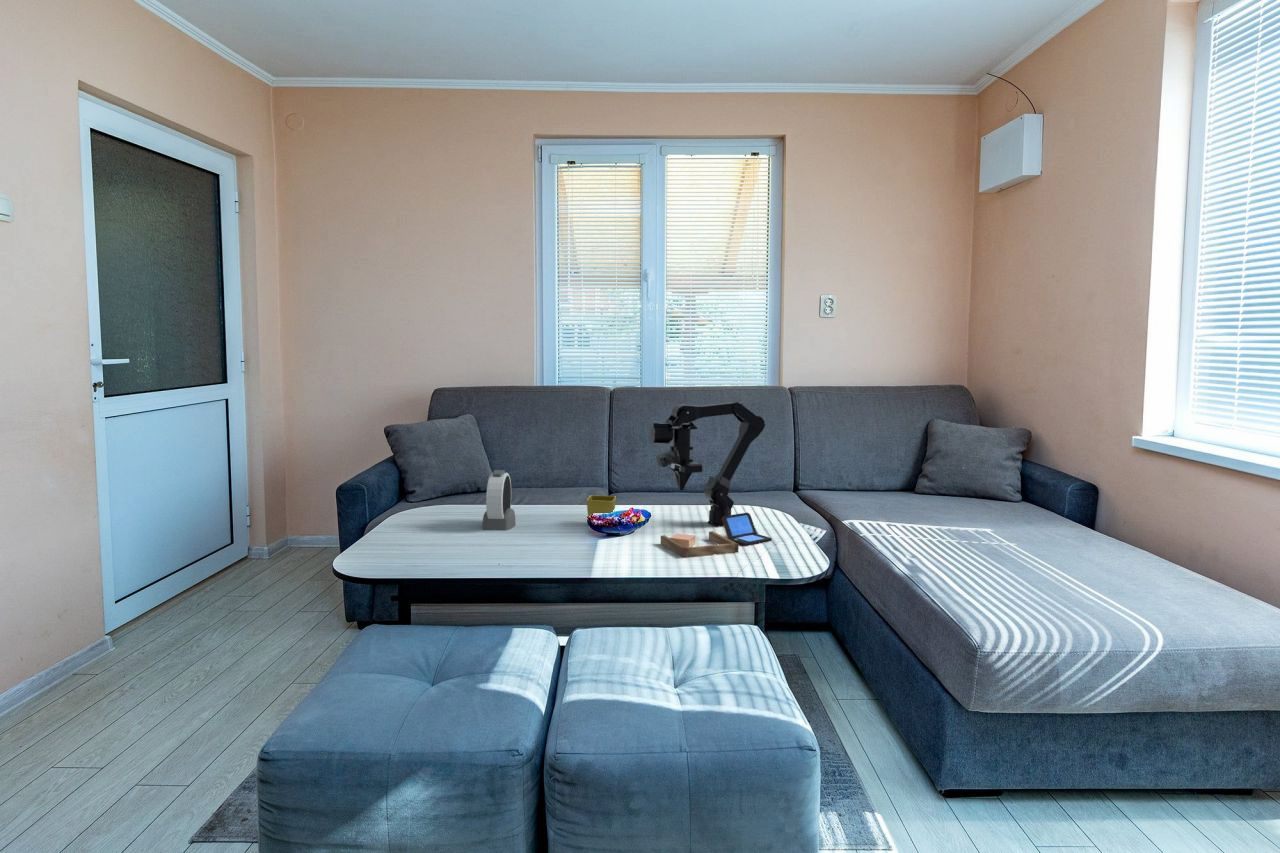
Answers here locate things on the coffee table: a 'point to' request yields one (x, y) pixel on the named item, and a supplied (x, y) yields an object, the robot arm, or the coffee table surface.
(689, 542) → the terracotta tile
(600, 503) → the flower pot
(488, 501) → the grey ring on stand
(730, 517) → the handheld game console
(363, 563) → the coffee table surface
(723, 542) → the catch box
